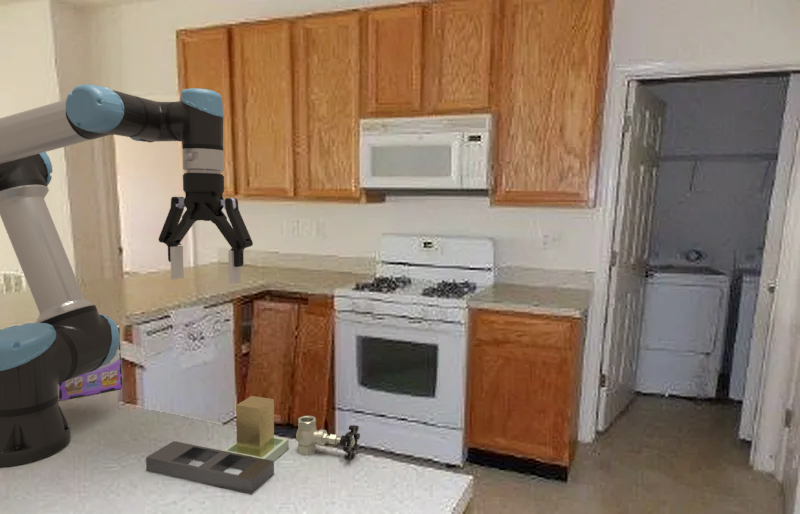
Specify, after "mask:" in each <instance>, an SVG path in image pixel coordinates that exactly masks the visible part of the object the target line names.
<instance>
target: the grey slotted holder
mask: <svg viewBox="0 0 800 514" xmlns="http://www.w3.org/2000/svg"><path fill="white" fill-rule="evenodd" d="M193 460H196V461H200V462H203V463H202V464H200V465H198V466H197V465H192V464H189V463H191V462H192V461H193ZM145 467H146V469H145V471H147V472H151V473H155V474H160V475H165V476H170V477H173V478H177V479H182V480H186V481H191V482H196V483H200V484H202V485H203V484H204V485H208V486H213V487H216V488H220V489H221V488H222V489H227V490H230V491H235V492H239V493H244V494H248V495H253V494H254V493H255V492H256V491H257V490H258V489H259V488H260V487H262V486H263V484H265V483H266V482H267V481H268V480H270V479H271V477H273V476H274V475H275V461H271V460H266V459H261V458H256V457H251V456H246V455H242V454H237V453H232V452H227V451H223V450H221V449H217V448H216V449H215V448H211V447H206V446H201V445H196V444H192V443H191V444H190V443H186V442H181V441H176V440H173V441H171V442H169V443H168V444H166V445H164V446H162V447H161V448H160V449H158V450H156V451H154V452H152V453H151V454H149V455H148V456H146V457H145ZM229 468H234V469H237V468H238V469H239V470H242V471H241V472H240V473H239V474H234V473H231V472H230V473H229V472H226V470H228V469H229Z"/></svg>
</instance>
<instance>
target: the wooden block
mask: <svg viewBox="0 0 800 514" xmlns="http://www.w3.org/2000/svg"><path fill="white" fill-rule="evenodd" d="M274 406H275V399H273V398H267V397H261V396H254V395H250V396H248V398H246V399H244V400H242V401H241V402H239V403H237V404H236V408H235V409H236V411H235V413H236V414H235V415H236V418H235V419H236V421H235V422H236V441H237V453H242V454H247V455H252V456H257V457H263V456H265V455H266V454H267V453H268V452H270V451H271V450H272V449H273V448H274V437H275V408H274Z"/></svg>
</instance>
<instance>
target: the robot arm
mask: <svg viewBox="0 0 800 514" xmlns="http://www.w3.org/2000/svg"><path fill="white" fill-rule="evenodd" d="M223 107H224V106H223V97H222V95H221V94H220V93H219V92H217V91H215V90H212V89H206V88H198V87H196V88H195V87H194V88H193V87H192V88H191V87H190V88H186V89H182V91H181V94H180V100H178V101H156V100H152V99H148V98H145V97H140V96H137V95H132V94H129V93H125V92H122V91H117V90H113V89H111V88H110V87H109V88H108V87H106V86H101V85H93V84H86V83H85V84H79V85H76V86H75V87H74V88H73V89H72V91H71V92H69V93H68V94H67V97H66V99H64V100H63V99H62V100H59V101H56V102H52V103H49V104H46V105H42V106H39V107H35V108H32V109H29V110H24V111H22V112H18V113H14V114H10V115H7V116H4V117H1V118H0V218H1V221H2V223H3V226H4V228H5V230H6V234H7V236H8V238H9V240H10V243H11V246H12V248H13V251H14V253H15V255H16V258H17V260H18V263H19V265H20V268H21V271H22V273H23V276H24V278H25V280H26V282H27V285H28V288H29V290H30V292H31V293H30V294H31V295H32V298H33V300H34V302H35V304H36V308H37V310H38V312H39V316H38V318H37V319H36V321H35V322H29V323H23V324H20V325H17V324H16V325H12V326H9V327H8V326H7V327H5V328H1V329H0V467H1V468H2V467H12V466H19V465H23V464H29V463H33V462H36V461H40V460H42V459H45V458H48V457H49V456H52V455H54V454H56V453H59V452H60V451H62V450H63V449H64V448H66V447H67V446H68V444H70V442H71V428H70V426H69V424H68V421H67V420H66V416H65V414H64V412H63V410H62V409H61V407H60V405H59V399H58V386H57V384H59V383H62V382H64V381H67V380H70V379H72V378H75V377H77V376H80V375H82V374H85V373H88V372H92V371H94V370H97V369H98V368H100V367H102V366H104V365H106V364H107V363H109V362H110V361H111V360H112V359H113V358H114V357H115V355H116V352H117V350H118V348H119V344H120V345H121V334H119V330H118V327H117V325H118V324H117V323H116V322H115V321H114V320H113V319H112V318H109V316H108V315H106V314H102V313H99V310H98V309H97V306H96V303H94V302H91V301H89V300H86V299H85V297H84V295H83V292H82V289H81V287H80V285H79V283H78V280H77V277H76V275H75V272H74V270H73V267H72V266H71V263H70V260H69V258H68V254H67V253H66V250H65V248H64V247H65V246H64V245H63V243H62V240H61V238H60V235H59V233H58V230H57V228H56V225H55V223H54V220H53V218H52V215H51V213H50V210H49V208H48V205H47V202H46V201H45V198H46V196H47V195H48V193H49V191H50V189H49V187H48V186H49V184H51V180H52V179H53V178H52V175H51V174H52V173H53V165H52V161H51V159H50V157H49V155H48V153H47V152H50V151H53V150H57V149H63V148H65V147H69V146H72V145H76V144H79V143H80V144H81V143H84V142H88V141H92V140H96V139H99V138H103V137H107V136H120V137H127V138H130V139H131V140H133V141H136V142H147V143H154V142H181V146H182V169H183V170H184V171H186V172H184V174H182V191H183V192H184V193H185V196H184V197H183V196H172V197H171V198H170V208H169V210H168V213H167V216H166V217H165V218H166V219H165V221H164V223H163V226H162V229H161V231H160V234H159V237H158V242H159V243H163V244H165V245H166V246H167V260H168V262H169V263H170V279H171V280H177V279H183V278H184V246H183V245H182V243H181V242H182V241H183V240H184V238H185V236H186V235H187V233H188V232H189V230H190V229H191V228H192V227H193V226H194V224H195V223H196V222H197V221H204V222H211V223H213V224H214V225H215V226H216V228H217V229H218V231H219V232H220V233H221V235H222V236H223V237H224V240H226V242H227V243H228V244H229V246H230V250H229V249H228V254H227V255H228V256H227V257H228V284H229V285H235V284H236V285H237V284H241V281H242V280H241V267H243V266H244V263H245V262H244V250H245V249H247V248H249V247H252V246H253V245H254V244H253V240H252V238H251V235H250V233H249V231H248V228H247V226H246V222H245V221H244V219H243V216H242V214H241V212H240V210H239V209H240V208H239V201H238V199H237V198H235V197H229V198H228V197H226V198H225V199H224V197H223V195H224V192H225V176H224V174H222V172H224V171H225V155H224V154H225V153H224V118H225V115H224V108H223ZM223 209H224V210H225V211H226V214H227V216H226V214H225V213H224V212H223ZM184 210H185V211H184ZM183 212H184V213H183ZM227 217H228V218H227ZM228 220H229V221H228ZM116 324H117V325H116Z"/></svg>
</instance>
